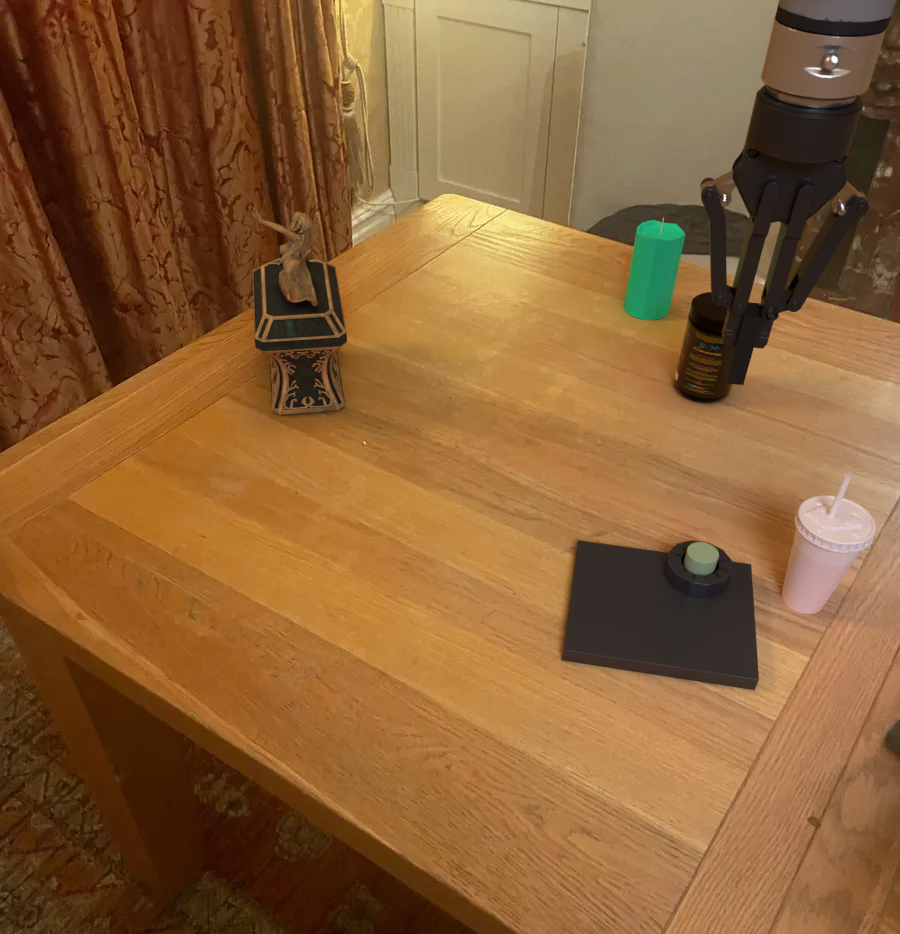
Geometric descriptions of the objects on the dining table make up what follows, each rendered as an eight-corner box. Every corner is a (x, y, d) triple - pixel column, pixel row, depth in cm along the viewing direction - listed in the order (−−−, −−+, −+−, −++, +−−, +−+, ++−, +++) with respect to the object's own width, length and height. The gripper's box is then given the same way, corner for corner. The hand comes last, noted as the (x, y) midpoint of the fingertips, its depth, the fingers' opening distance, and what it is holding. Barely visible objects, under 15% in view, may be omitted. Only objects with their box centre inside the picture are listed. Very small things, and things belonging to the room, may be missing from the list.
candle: (665, 323, 117) (684, 231, 108) (619, 315, 118) (634, 223, 109) (672, 302, 121) (691, 211, 112) (628, 294, 122) (643, 204, 113)
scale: (747, 572, 85) (755, 548, 82) (754, 690, 75) (764, 667, 73) (576, 548, 86) (580, 524, 84) (561, 660, 76) (565, 637, 74)
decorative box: (261, 347, 110) (237, 181, 96) (340, 341, 112) (328, 177, 98) (265, 444, 97) (238, 267, 83) (355, 437, 98) (343, 261, 84)
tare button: (714, 556, 82) (718, 544, 81) (715, 577, 80) (719, 565, 79) (683, 552, 82) (687, 539, 81) (683, 573, 80) (687, 560, 79)
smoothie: (768, 568, 85) (814, 446, 75) (839, 583, 84) (895, 461, 74) (764, 616, 81) (813, 493, 71) (839, 632, 79) (899, 510, 69)
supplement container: (734, 407, 104) (758, 324, 96) (674, 403, 104) (694, 319, 96) (726, 375, 108) (749, 293, 101) (669, 371, 109) (688, 289, 101)
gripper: (722, 101, 63) (661, 391, 80) (915, 114, 62) (812, 406, 79) (717, 69, 69) (661, 348, 86) (895, 80, 67) (802, 361, 84)
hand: (733, 376), depth 82 cm, fingers closed
